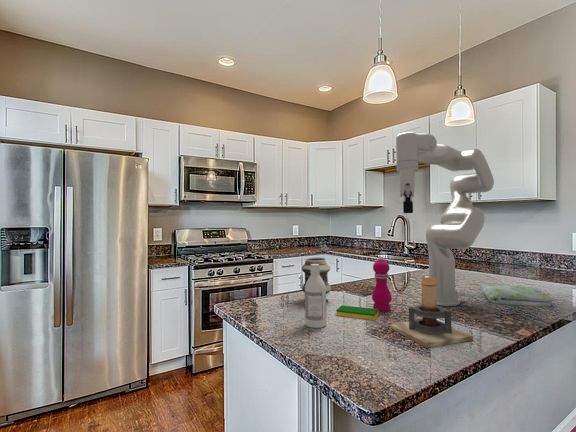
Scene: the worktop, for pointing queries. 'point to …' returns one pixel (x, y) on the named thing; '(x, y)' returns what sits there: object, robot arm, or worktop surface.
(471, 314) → the worktop surface
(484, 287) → the towel
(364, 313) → the dish sponge
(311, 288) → the bath foam
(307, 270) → the apothecary jar
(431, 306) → the tan cylinder
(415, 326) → the collar stand
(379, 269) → the pepper mill
